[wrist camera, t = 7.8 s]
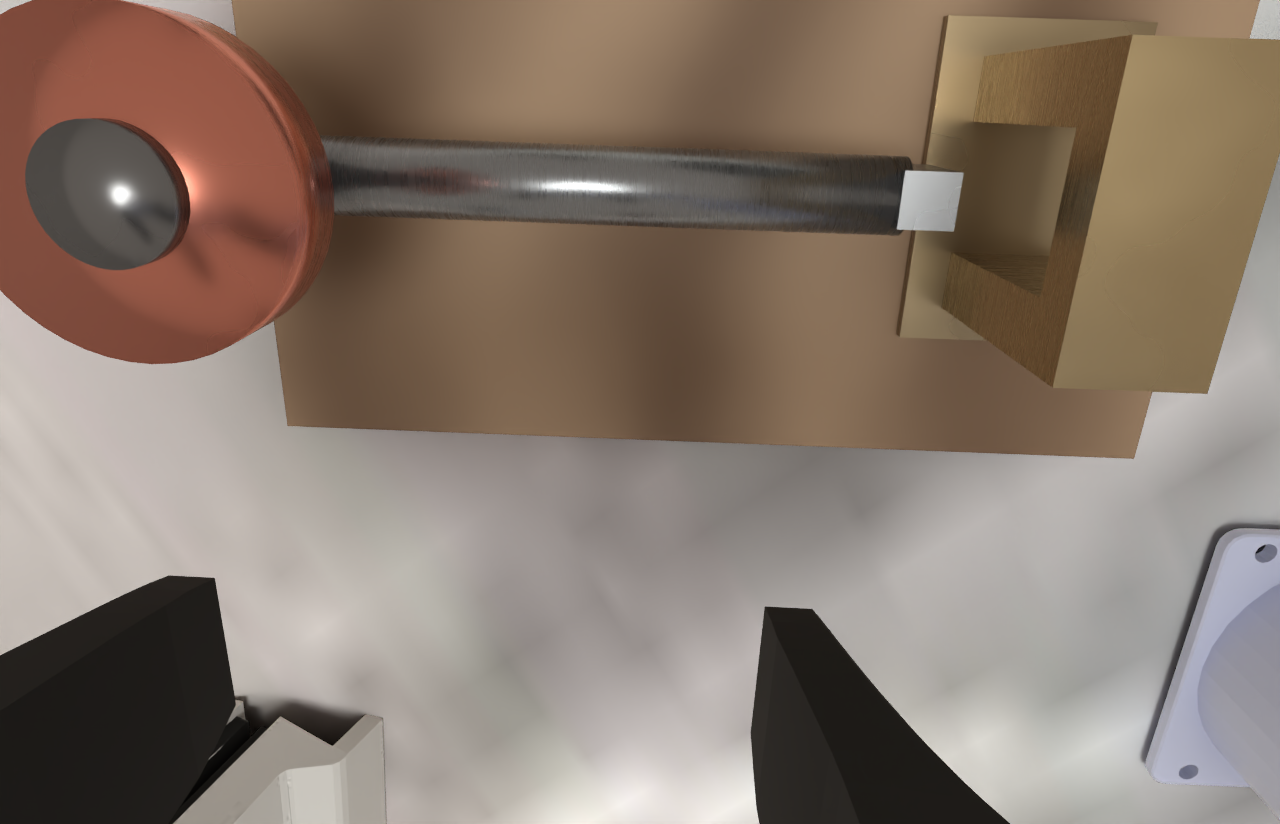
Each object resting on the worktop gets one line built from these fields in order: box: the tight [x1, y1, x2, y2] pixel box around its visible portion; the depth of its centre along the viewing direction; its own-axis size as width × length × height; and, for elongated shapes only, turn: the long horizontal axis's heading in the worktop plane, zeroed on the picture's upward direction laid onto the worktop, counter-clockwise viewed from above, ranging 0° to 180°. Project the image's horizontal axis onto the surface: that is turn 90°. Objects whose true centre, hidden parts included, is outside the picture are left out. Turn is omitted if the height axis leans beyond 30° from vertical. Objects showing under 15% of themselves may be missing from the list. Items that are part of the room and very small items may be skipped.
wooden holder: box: [896, 15, 1280, 394], centre depth 14 cm, size 4×6×6 cm, turn 178°
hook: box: [0, 0, 964, 364], centre depth 13 cm, size 15×5×5 cm, turn 88°
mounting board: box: [232, 0, 1260, 459], centre depth 17 cm, size 20×12×1 cm, turn 88°
